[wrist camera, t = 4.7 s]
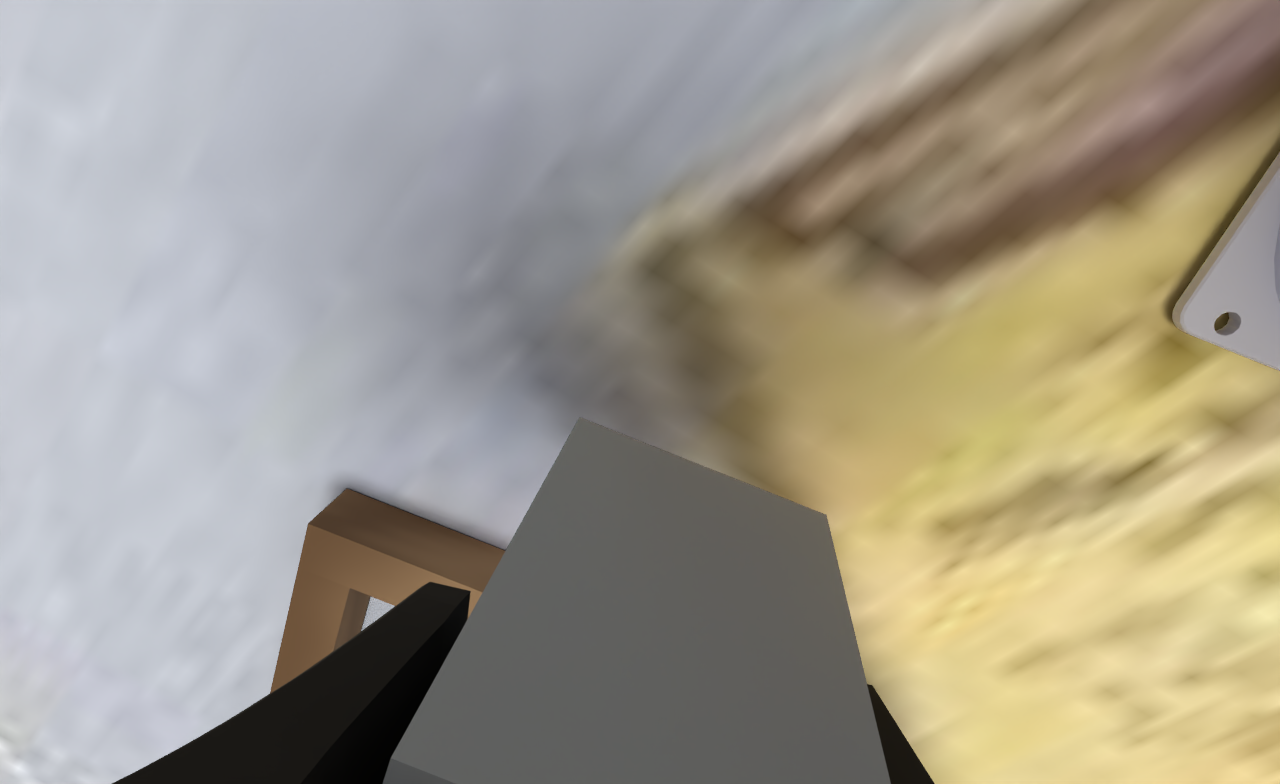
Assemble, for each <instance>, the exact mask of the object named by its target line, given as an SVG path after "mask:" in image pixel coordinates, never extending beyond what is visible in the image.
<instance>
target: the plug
mask: <svg viewBox="0 0 1280 784" xmlns="http://www.w3.org/2000/svg"><path fill="white" fill-rule="evenodd" d="M383 784H891V782H890V778H889V774H888V770H887V766H886V761H885V757H884V753H883V749H882V745H881V741H880V736H879V732H878V728H877V724H876V720H875V716H874V711H873V707H872V703H871V699H870V695H869V691H868V686H867V682H866V678H865V674H864V670H863V666H862V661H861V657H860V653H859V649H858V645H857V641H856V636H855V632H854V628H853V624H852V620H851V616H850V611H849V607H848V603H847V599H846V595H845V591H844V586H843V582H842V578H841V574H840V570H839V566H838V561H837V557H836V553H835V549H834V545H833V541H832V536H831V532H830V528H829V524H828V520H827V516H826V515H825V514H823V513H820V512H818V511H815V510H813V509H810V508H808V507H805V506H803V505H800V504H798V503H795V502H793V501H790V500H788V499H785V498H782V497H780V496H777V495H775V494H772V493H770V492H767V491H765V490H762V489H760V488H757V487H755V486H752V485H750V484H747V483H745V482H742V481H740V480H737V479H734V478H732V477H729V476H727V475H724V474H722V473H719V472H717V471H714V470H712V469H709V468H707V467H704V466H702V465H699V464H697V463H694V462H692V461H689V460H686V459H684V458H681V457H679V456H676V455H674V454H671V453H669V452H666V451H664V450H661V449H659V448H656V447H654V446H651V445H649V444H646V443H644V442H641V441H638V440H636V439H633V438H631V437H628V436H626V435H623V434H621V433H618V432H616V431H613V430H611V429H608V428H606V427H603V426H601V425H598V424H596V423H593V422H590V421H588V420H585V419H583V418H580V417H579V419H578V421H577V423H576V425H575V426H574V428H573V430H572V432H571V434H570V435H569V437H568V439H567V441H566V443H565V445H564V446H563V448H562V450H561V452H560V454H559V455H558V457H557V459H556V461H555V463H554V464H553V466H552V468H551V470H550V472H549V473H548V475H547V477H546V479H545V481H544V482H543V484H542V486H541V488H540V490H539V491H538V493H537V495H536V497H535V499H534V500H533V502H532V504H531V506H530V508H529V510H528V511H527V513H526V515H525V517H524V519H523V520H522V522H521V524H520V526H519V528H518V529H517V531H516V533H515V535H514V537H513V538H512V540H511V542H510V544H509V546H508V547H507V549H506V551H505V553H504V555H503V556H502V558H501V560H500V562H499V564H498V566H497V567H496V569H495V571H494V573H493V575H492V576H491V578H490V580H489V582H488V584H487V585H486V587H485V589H484V591H483V593H482V594H481V596H480V598H479V600H478V602H477V603H476V605H475V607H474V609H473V611H472V612H471V614H470V616H469V618H468V620H467V621H466V623H465V625H464V627H463V629H462V631H461V632H460V634H459V636H458V638H457V640H456V641H455V643H454V645H453V647H452V649H451V650H450V652H449V654H448V656H447V658H446V659H445V661H444V663H443V665H442V667H441V668H440V670H439V672H438V674H437V676H436V677H435V679H434V681H433V683H432V685H431V686H430V688H429V690H428V692H427V694H426V696H425V697H424V699H423V701H422V703H421V705H420V706H419V708H418V710H417V712H416V714H415V715H414V717H413V719H412V721H411V723H410V724H409V726H408V728H407V730H406V732H405V733H404V735H403V737H402V739H401V741H400V742H399V744H398V746H397V748H396V750H395V751H394V753H393V755H392V757H391V759H390V762H389V765H388V768H387V771H386V775H385V778H384V781H383Z"/></svg>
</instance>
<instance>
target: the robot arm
mask: <svg viewBox="0 0 1280 784" xmlns="http://www.w3.org/2000/svg"><path fill="white" fill-rule="evenodd" d="M1227 312H1228V313H1229V320H1228V323H1227V324H1226V325H1225V326H1224V327H1223V328H1222V329H1219V330H1216V331H1215V328H1214V324H1215V321H1216V319H1217V318H1218V317H1219V316H1220V315H1221V314H1224V313H1227ZM1172 320H1173V322H1174V324H1175V326H1176V327H1177V328H1178V329H1180V330H1181V331H1183V332H1185V333H1187V334H1189V335H1192V336H1194V337H1197V338H1199V339H1202V340H1204V341H1207V342H1209V343H1212V344H1214V345H1217V346H1219V347H1222V348H1224V349H1227V350H1229V351H1232V352H1234V353H1237V354H1239V355H1241V356H1244V357H1246V358H1249V359H1251V360H1254V361H1256V362H1259V363H1261V364H1264V365H1266V366H1269V367H1271V368H1274V369H1276V370H1279V371H1280V152H1279V154H1278V155H1277V156H1276V158H1275V159H1274V161H1273V162H1272V164H1271V165H1270V167H1269V168H1268V170H1267V171H1266V173H1265V174H1264V175H1263V177H1262V178H1261V180H1260V181H1259V183H1258V184H1257V186H1256V187H1255V189H1254V190H1253V192H1252V193H1251V195H1250V196H1249V197H1248V199H1247V200H1246V202H1245V203H1244V205H1243V206H1242V208H1241V209H1240V211H1239V212H1238V214H1237V215H1236V216H1235V218H1234V219H1233V221H1232V222H1231V224H1230V225H1229V227H1228V228H1227V230H1226V231H1225V233H1224V234H1223V236H1222V237H1221V238H1220V240H1219V241H1218V243H1217V244H1216V246H1215V247H1214V249H1213V250H1212V252H1211V253H1210V255H1209V256H1208V257H1207V259H1206V260H1205V262H1204V263H1203V265H1202V266H1201V268H1200V269H1199V271H1198V272H1197V274H1196V275H1195V277H1194V278H1193V279H1192V281H1191V282H1190V284H1189V285H1188V287H1187V288H1186V290H1185V291H1184V293H1183V294H1182V296H1181V297H1180V298H1179V300H1178V301H1177V303H1176V305H1175V307H1174V309H1173V312H1172ZM470 593H471V591H468V590H464V589H460V588H455V587H451V586H447V585H443V584H438V583H434V582H428V583H427V584H425V585H423V586H422V587H420V588H419V589H418V590H416V591H415V592H414V593H412V594H411V595H409V596H408V597H407V598H406V599H404V600H403V601H402V602H400V603H399V604H398V605H396V606H395V607H394V608H392V609H391V610H390V611H388V612H387V613H386V614H384V615H383V616H382V617H380V618H379V619H378V620H376V621H375V622H374V623H372V624H371V625H369V626H368V627H367V628H365V629H364V630H363V631H361V632H360V633H358V634H357V635H356V636H354V637H353V638H352V639H350V640H349V641H347V642H346V643H345V644H343V645H342V646H340V647H339V648H337V649H336V650H334V651H333V652H332V653H330V654H329V655H327V656H326V657H324V658H323V659H322V660H320V661H319V662H317V663H316V664H314V665H313V666H312V667H310V668H309V669H307V670H306V671H304V672H303V673H301V674H300V675H298V676H297V677H295V678H294V679H292V680H291V681H289V682H288V683H286V684H284V685H283V686H281V687H280V688H278V689H277V690H275V691H273V692H272V693H270V694H269V695H267V696H266V697H264V698H262V699H261V700H259V701H258V702H256V703H255V704H253V705H251V706H250V707H248V708H247V709H245V710H244V711H242V712H240V713H239V714H237V715H236V716H234V717H232V718H231V719H229V720H227V721H226V722H224V723H222V724H221V725H219V726H217V727H215V728H214V729H212V730H210V731H209V732H207V733H205V734H204V735H202V736H200V737H198V738H197V739H195V740H193V741H191V742H190V743H188V744H186V745H184V746H182V747H181V748H179V749H177V750H175V751H173V752H171V753H170V754H168V755H166V756H164V757H162V758H160V759H159V760H157V761H155V762H153V763H151V764H149V765H148V766H146V767H144V768H142V769H140V770H138V771H136V772H134V773H132V774H130V775H128V776H126V777H124V778H122V779H120V780H118V781H116V782H114V783H112V784H383V781H384V778H385V775H386V771H387V768H388V765H389V762H390V759H391V757H392V755H393V753H394V751H395V750H396V748H397V746H398V744H399V742H400V741H401V739H402V737H403V735H404V733H405V732H406V730H407V728H408V726H409V724H410V723H411V721H412V719H413V717H414V715H415V714H416V712H417V710H418V708H419V706H420V705H421V703H422V701H423V699H424V697H425V696H426V694H427V692H428V690H429V688H430V686H431V685H432V683H433V681H434V679H435V677H436V676H437V674H438V672H439V670H440V668H441V667H442V665H443V663H444V661H445V659H446V658H447V656H448V654H449V652H450V650H451V649H452V647H453V645H454V643H455V641H456V640H457V638H458V636H459V634H460V632H461V631H462V629H463V627H464V625H465V623H466V621H467V620H468V611H469V602H470ZM867 686H868V691H869V695H870V699H871V703H872V707H873V711H874V716H875V720H876V724H877V728H878V732H879V736H880V741H881V745H882V749H883V753H884V757H885V761H886V766H887V770H888V774H889V778H890V782H891V784H934V782H933V781H932V779H931V778H930V776H929V774H928V773H927V771H926V770H925V768H924V767H923V765H922V763H921V762H920V760H919V759H918V757H917V756H916V754H915V752H914V751H913V749H912V748H911V746H910V744H909V743H908V741H907V740H906V738H905V737H904V735H903V733H902V732H901V730H900V729H899V727H898V725H897V724H896V722H895V721H894V719H893V717H892V716H891V714H890V713H889V711H888V709H887V708H886V706H885V705H884V703H883V702H882V700H881V698H880V697H879V695H878V694H877V692H876V691H875V689H874V687H873V686H872V685H868V684H867Z"/></svg>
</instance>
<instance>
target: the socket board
mask: <svg viewBox="0 0 1280 784" xmlns="http://www.w3.org/2000/svg"><path fill="white" fill-rule="evenodd" d="M504 553H505V551H504V550H501V549H499V548H496V547H494V546H491V545H489V544H486V543H484V542H481V541H479V540H476V539H474V538H471V537H469V536H466V535H464V534H461V533H458V532H456V531H453V530H451V529H448V528H446V527H443V526H441V525H438V524H436V523H433V522H431V521H428V520H426V519H423V518H420V517H418V516H415V515H413V514H410V513H408V512H405V511H403V510H400V509H398V508H395V507H393V506H390V505H388V504H385V503H382V502H380V501H377V500H375V499H372V498H370V497H367V496H365V495H362V494H360V493H357V492H355V491H352V490H350V489H346V490H345V491H344V492H342V493H341V494H340V495H339V496H338V497H337V498H336V499H335V500H334V501H333V502H331V503H330V504H329V505H328V506H327V507H326V508H325V509H324V510H323V511H322V512H320V513H319V514H318V515H317V516H316V517H315V518H314V519H313V520H312V521H311V522H309V523H308V527H307V531H306V535H305V540H304V544H303V549H302V553H301V558H300V562H299V567H298V571H297V576H296V580H295V585H294V589H293V593H292V598H291V602H290V607H289V611H288V616H287V620H286V625H285V629H284V634H283V638H282V643H281V647H280V651H279V656H278V660H277V665H276V669H275V674H274V678H273V683H272V687H271V692H270V693H272V692H273V691H275V690H277V689H278V688H280V687H281V686H283V685H284V684H286V683H288V682H289V681H291V680H292V679H294V678H295V677H297V676H298V675H300V674H301V673H303V672H304V671H306V670H307V669H309V668H310V667H312V666H313V665H314V664H316V663H317V662H319V661H320V660H322V659H323V658H324V657H326V656H327V655H329V654H330V653H332V652H333V651H334V650H336V649H337V648H339V647H340V646H342V645H343V644H345V643H346V642H347V641H349V640H350V639H352V638H353V637H354V636H356V635H357V634H358V633H360V632H361V628H362V625H363V621H364V618H365V614H366V610H367V607H368V603H369V600H370V596H372V597H374V598H377V599H379V600H382V601H384V602H387V603H389V604H392V605H394V606H396V605H398V604H399V603H400V602H402V601H403V600H404V599H406V598H407V597H408V596H409V595H411V594H412V593H414V592H415V591H416V590H418V589H419V588H420V587H422V586H423V585H425V584H427V583H428V582H434V583H438V584H443V585H447V586H451V587H455V588H460V589H464V590H468V591H471V593H470V602H469V611H468V618H469V616H470V614H471V612H472V611H473V609H474V607H475V605H476V603H477V602H478V600H479V598H480V596H481V594H482V593H483V591H484V589H485V587H486V585H487V584H488V582H489V580H490V578H491V576H492V575H493V573H494V571H495V569H496V567H497V566H498V564H499V562H500V560H501V558H502V556H503V555H504Z"/></svg>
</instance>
